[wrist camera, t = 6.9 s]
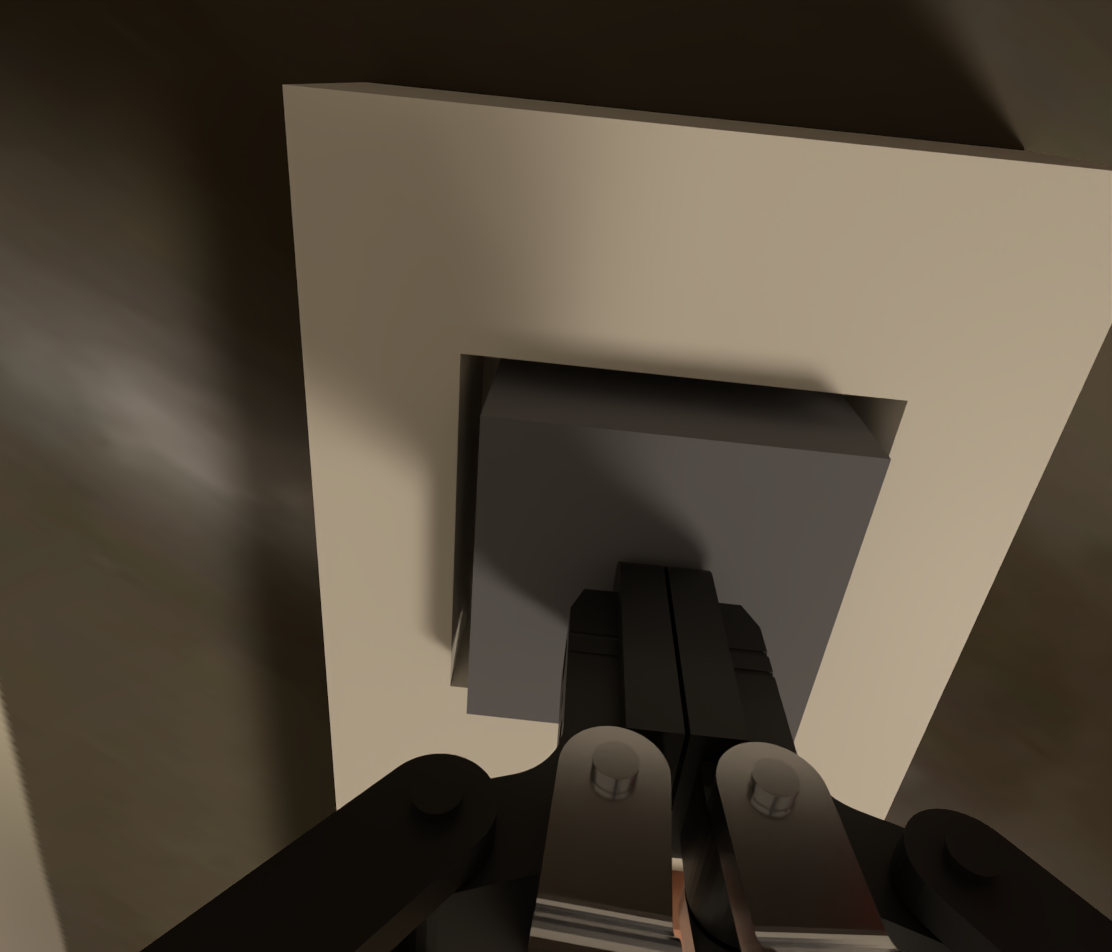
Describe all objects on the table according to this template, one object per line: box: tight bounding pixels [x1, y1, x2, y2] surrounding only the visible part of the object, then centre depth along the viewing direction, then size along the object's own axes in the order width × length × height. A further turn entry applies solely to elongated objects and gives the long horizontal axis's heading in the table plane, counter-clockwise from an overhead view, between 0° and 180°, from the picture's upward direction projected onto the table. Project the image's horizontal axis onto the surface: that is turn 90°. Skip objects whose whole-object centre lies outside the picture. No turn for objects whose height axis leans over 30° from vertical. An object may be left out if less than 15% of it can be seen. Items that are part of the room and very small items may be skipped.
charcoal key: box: [467, 358, 891, 742], centre depth 14 cm, size 6×6×3 cm
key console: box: [282, 82, 1112, 871], centre depth 18 cm, size 26×12×4 cm, turn 175°
